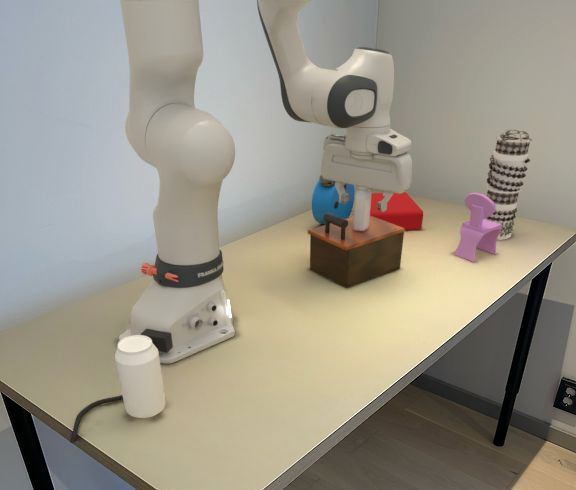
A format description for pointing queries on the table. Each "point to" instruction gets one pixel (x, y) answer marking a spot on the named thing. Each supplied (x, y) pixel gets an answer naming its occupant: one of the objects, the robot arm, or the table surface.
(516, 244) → the table surface
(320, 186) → the alarm clock
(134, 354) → the beverage can
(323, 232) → the lid
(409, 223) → the red device housing
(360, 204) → the eye dropper bottle
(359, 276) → the chest
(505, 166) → the decorative candle
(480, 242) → the toy chair
